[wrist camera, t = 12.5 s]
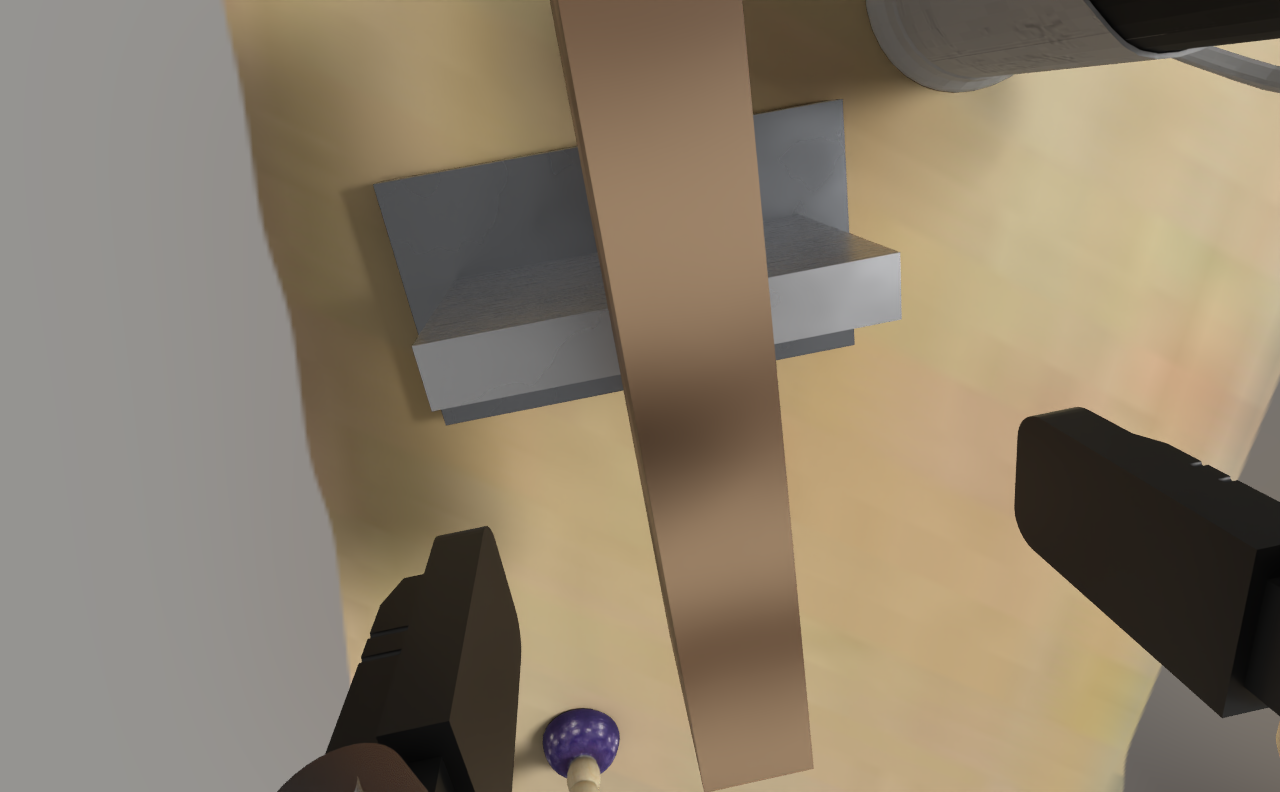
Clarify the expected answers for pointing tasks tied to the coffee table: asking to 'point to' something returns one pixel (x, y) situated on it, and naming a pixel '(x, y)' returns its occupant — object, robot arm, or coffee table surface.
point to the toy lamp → (581, 747)
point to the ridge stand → (571, 275)
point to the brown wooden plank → (696, 357)
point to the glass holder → (1068, 37)
